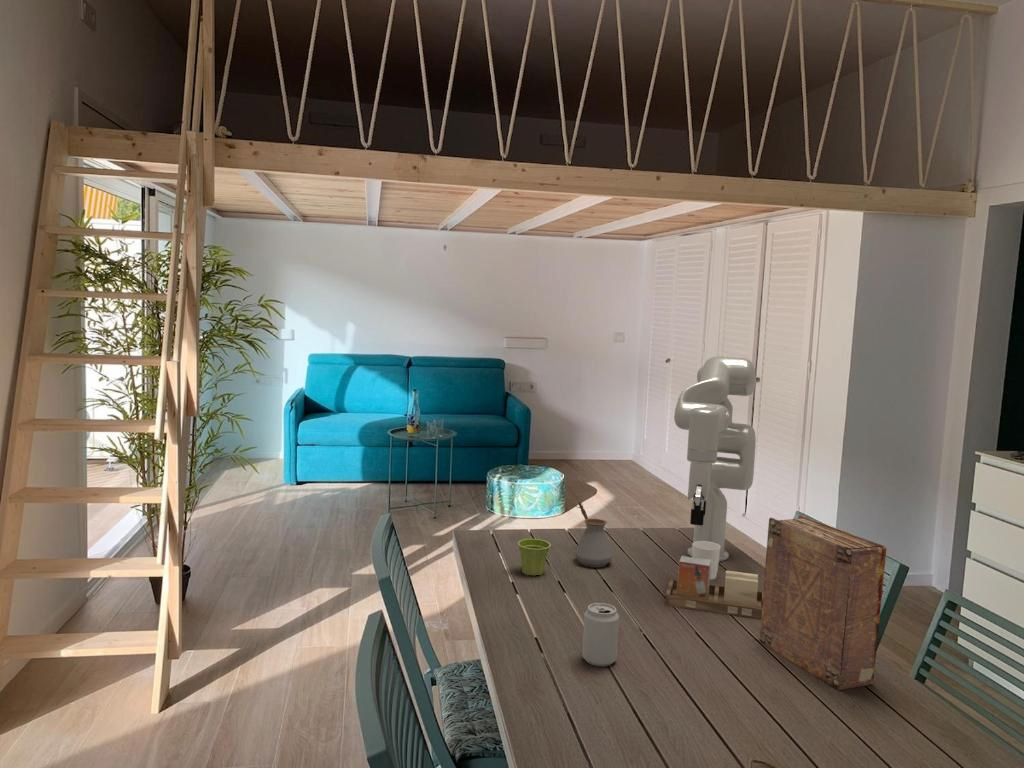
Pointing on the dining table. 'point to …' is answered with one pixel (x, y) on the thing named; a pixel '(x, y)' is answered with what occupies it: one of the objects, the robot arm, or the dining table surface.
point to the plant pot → (533, 555)
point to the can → (600, 634)
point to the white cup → (707, 554)
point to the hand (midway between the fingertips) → (697, 519)
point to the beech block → (741, 588)
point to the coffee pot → (593, 543)
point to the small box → (693, 578)
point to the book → (823, 600)
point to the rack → (713, 602)
